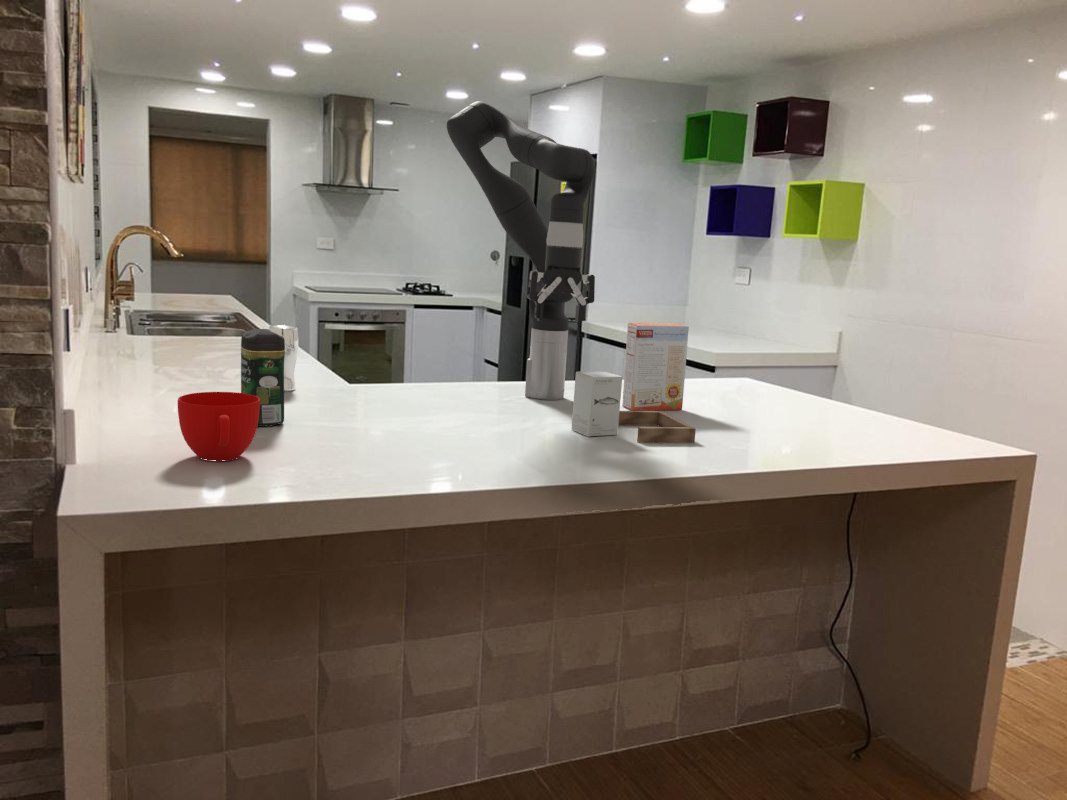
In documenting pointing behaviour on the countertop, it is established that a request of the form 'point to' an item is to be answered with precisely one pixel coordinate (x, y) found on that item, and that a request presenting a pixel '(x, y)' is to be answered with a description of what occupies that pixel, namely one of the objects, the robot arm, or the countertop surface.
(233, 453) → the ceramic cup
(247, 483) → the countertop surface
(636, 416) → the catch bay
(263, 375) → the coffee jar
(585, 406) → the supplement box
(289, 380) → the beer glass
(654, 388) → the cracker box
